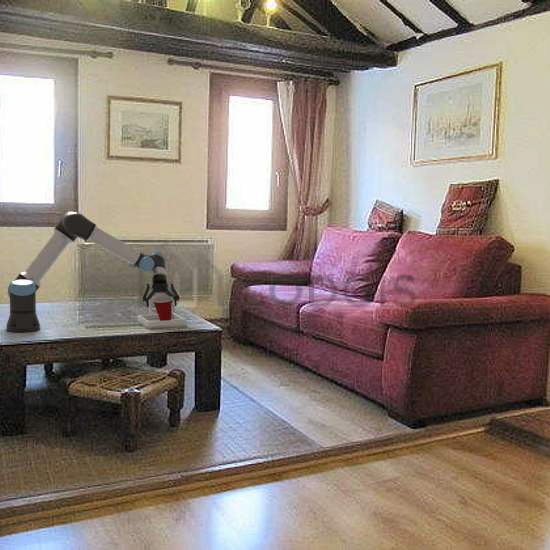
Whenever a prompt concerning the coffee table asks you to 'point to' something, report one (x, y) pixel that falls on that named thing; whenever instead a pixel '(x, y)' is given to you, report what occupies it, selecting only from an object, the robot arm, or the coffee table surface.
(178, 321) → the tray
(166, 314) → the plastic cup
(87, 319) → the coffee table surface
